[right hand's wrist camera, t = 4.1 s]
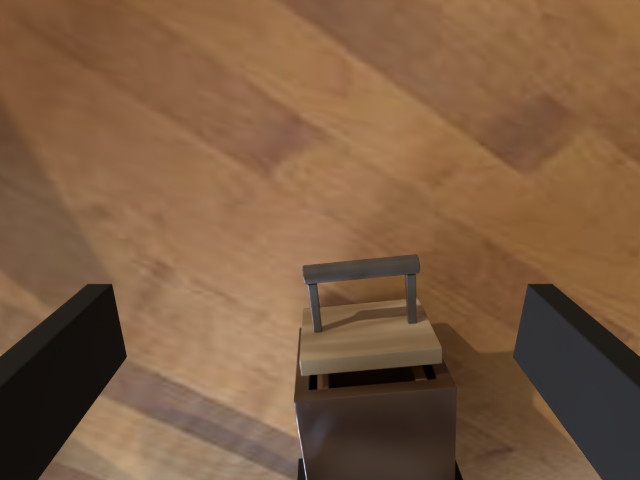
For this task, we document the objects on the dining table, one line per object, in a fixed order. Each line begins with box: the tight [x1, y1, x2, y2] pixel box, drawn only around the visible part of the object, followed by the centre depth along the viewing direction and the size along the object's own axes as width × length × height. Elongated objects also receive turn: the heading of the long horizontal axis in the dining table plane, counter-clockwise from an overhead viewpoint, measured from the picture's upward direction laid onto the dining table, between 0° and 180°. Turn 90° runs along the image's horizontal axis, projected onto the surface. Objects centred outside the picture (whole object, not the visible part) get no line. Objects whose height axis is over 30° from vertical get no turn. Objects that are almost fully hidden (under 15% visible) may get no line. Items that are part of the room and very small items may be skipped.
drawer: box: [300, 254, 442, 389], centre depth 30 cm, size 20×9×6 cm, turn 6°
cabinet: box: [294, 328, 456, 480], centre depth 32 cm, size 16×10×8 cm, turn 6°
